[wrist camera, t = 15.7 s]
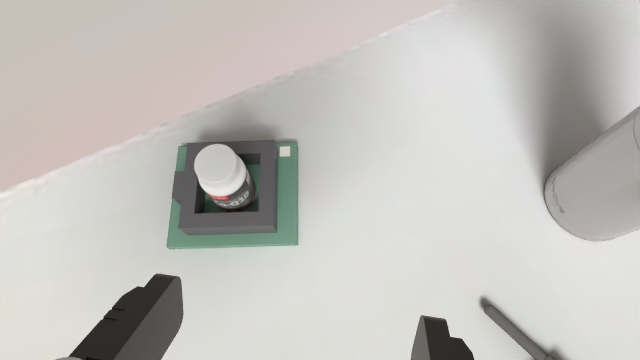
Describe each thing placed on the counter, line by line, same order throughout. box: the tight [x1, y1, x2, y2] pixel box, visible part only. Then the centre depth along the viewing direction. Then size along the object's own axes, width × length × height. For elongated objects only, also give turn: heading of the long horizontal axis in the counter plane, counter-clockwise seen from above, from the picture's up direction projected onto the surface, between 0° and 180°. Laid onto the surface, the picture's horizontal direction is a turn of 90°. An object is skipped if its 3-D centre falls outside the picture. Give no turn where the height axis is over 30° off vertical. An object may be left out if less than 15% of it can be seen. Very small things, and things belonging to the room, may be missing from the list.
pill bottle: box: [194, 144, 256, 213], centre depth 40 cm, size 5×5×8 cm
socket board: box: [167, 140, 298, 249], centre depth 43 cm, size 14×12×4 cm
